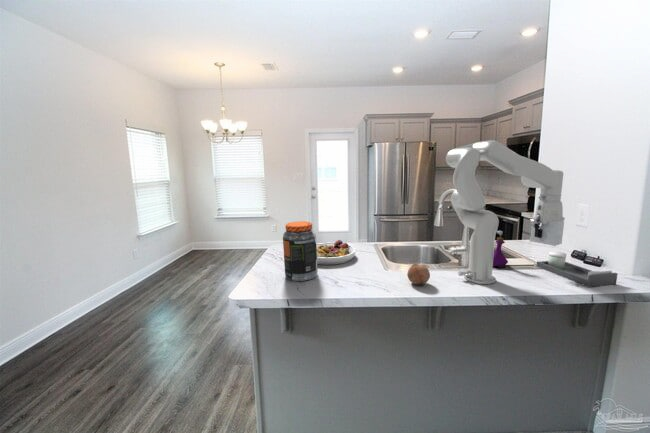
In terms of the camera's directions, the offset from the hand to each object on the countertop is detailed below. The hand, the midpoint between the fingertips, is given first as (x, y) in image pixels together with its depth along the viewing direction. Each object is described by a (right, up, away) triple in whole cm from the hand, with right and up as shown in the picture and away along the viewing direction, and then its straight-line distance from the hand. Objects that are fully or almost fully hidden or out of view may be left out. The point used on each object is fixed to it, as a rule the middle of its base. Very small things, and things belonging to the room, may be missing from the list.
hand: (546, 236), depth 135 cm
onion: (-60, -21, -4) cm, 63 cm away
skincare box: (0, -3, +1) cm, 3 cm away
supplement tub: (-112, -20, +9) cm, 114 cm away
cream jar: (+12, -16, +10) cm, 22 cm away
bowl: (-98, -15, +36) cm, 106 cm away
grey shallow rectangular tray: (+13, -18, +1) cm, 22 cm away
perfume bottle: (-13, -16, +16) cm, 26 cm away
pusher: (+15, -19, -10) cm, 26 cm away
